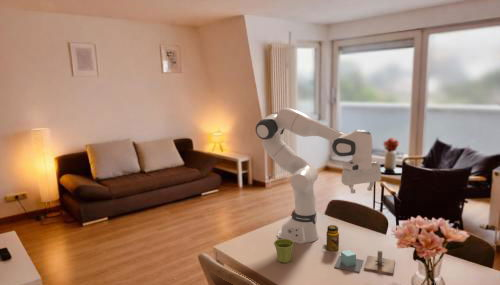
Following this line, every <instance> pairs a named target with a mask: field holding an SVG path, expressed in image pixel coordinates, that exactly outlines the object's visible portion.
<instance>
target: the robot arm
mask: <svg viewBox="0 0 500 285" xmlns="http://www.w3.org/2000/svg"><path fill="white" fill-rule="evenodd" d="M255 125H256V126H255V133H256V135H257V136H258V138H259V139H261V140H262V142H261V147H262V148H263V149H264V151H265V152H266V154H267V155H268V156H269V157H270V158H271V159H272V160H273V161H274V163H276V164H277V166H279V168H280V169H281V170H284V171H286V172H288V173H289V174H291V175H292V176H291V178H290V186H291V187H292V191H293V196H294V209H293V210H292V212H291V213H290V218H288V219H287V220H285V221H284V222H283V223H282V225H281V228H280V229H279V230H278V232H277V234H276V235H277V238H278V239H289V240H292V241H293V242H294V243H296V244H299V245H301V244H306V243H311V242H315V241H317V240H318V239H319V237H320V236H319V232H318V229H317V228H318V227H317V217H318V216H317V215H318V214H317V211H316V207H317V206H316V203H317V202H316V201H317V200H316V196H315V193H314V185H315V182H316V181H317V179H318V175H319V172H318V168H317V167H316V166H315V165H313V164H311V163H309V162H308V161H307V160H305V159H303V157H301V156H299V155H298V154H297V153H296V152H295V151H294V150H293V149H292V148H291V147H290V146H289V145H288V144H287V143H286V142H285V141H284V140H283V139H282V137H281V135H283V133H284V131H285V130H287V131H289V132H291V133H292V134H295V135H297V136H300V137H304V138H306V137H320V138H322V139H325V140H327V141H329V142H332V145H331V148H332V152H333V153H334V154H335V155H336V156H338V157H350V156H351V157H352V158H351V159H350V160H348V161H346V162H344V163H343V164H342V168H343V169H342V172H341V183H342V185H344V186H347V187H348V188H349V189H350V194H356V189H354V186H355V185H360V184H367V183H368V184H369V185H368V186H367V191H368V192H371V191H373V188H374V186H375V182H380V181H381V180H382V170H381V163H380V162H378V161H375V162H373V155H372V151H373V135H372V134H371V132H370V131H368V130H366V129H358V128H357V129H355V130H353V131H351V132H343V131H339V130H337V129H334V128H332V127H330V126H328V125H325V124H324V123H321V122H320V121H317V120H315V119H314V118H313V117H310V116H309V115H307V114H305V113H303V112H301V111H299V110H296V109H294V108H290V107H282V108H281V109H280V110H278V111H277V112H273V113H271V114H269V115H267V116H265V117H264V118H263V119H261V120H259V121H258V122H257V123H256V124H255Z"/></svg>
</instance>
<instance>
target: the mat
mask: <svg viewBox="0 0 500 285" xmlns="http://www.w3.org/2000/svg"><path fill="white" fill-rule="evenodd" d="M363 262H364V259H361V258H360V259H358V258H356V265H352V266H346V265H344V264H343V263H342V262H341V255H338V257H337V260H336V262H335V264H334V266H333V268H334V269H338V270H343V271H347V272H352V273H358V274H360V272H361V269H362V265H363Z"/></svg>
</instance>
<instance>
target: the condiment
mask: <svg viewBox="0 0 500 285" xmlns="http://www.w3.org/2000/svg"><path fill="white" fill-rule="evenodd" d="M326 230H327V231H326V244H322V249H321V252H326V253H332V254H333V253H334V254H339V253H340V251H341V250H340V248H341V246H340V232H339V227H338V226H337V225H334V224H331V225H328V226H327V229H326Z"/></svg>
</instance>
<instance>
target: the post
mask: <svg viewBox="0 0 500 285" xmlns="http://www.w3.org/2000/svg"><path fill="white" fill-rule="evenodd" d="M395 261H396V260H395V259H391V258H390V259H389V258H385V257H383V251H382V250H377V256H373V255H367V257H366V260H365V262H364V266H363V271H364V270H365V271H369V272H372V273H373V272H374V273H379V274H385V275H390V276H393V275H394V269H395Z"/></svg>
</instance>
